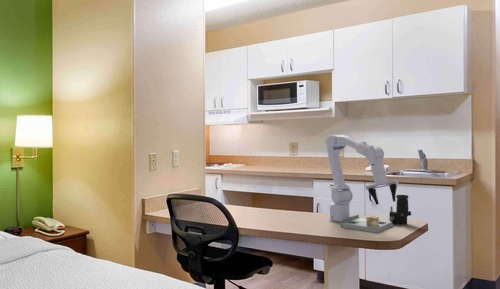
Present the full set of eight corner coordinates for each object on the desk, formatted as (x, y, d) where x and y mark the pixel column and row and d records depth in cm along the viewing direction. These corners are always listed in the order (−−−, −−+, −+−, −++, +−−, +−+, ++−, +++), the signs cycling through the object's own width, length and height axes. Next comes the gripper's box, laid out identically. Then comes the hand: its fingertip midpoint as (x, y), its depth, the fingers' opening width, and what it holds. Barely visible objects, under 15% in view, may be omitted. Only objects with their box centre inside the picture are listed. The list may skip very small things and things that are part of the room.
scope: (389, 193, 205) (410, 194, 201) (389, 221, 205) (411, 222, 202) (388, 196, 197) (411, 197, 194) (389, 225, 198) (411, 226, 194)
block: (366, 225, 189) (366, 217, 189) (370, 224, 192) (370, 215, 192) (374, 226, 186) (374, 218, 186) (378, 225, 189) (378, 216, 189)
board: (341, 227, 196) (341, 219, 196) (357, 221, 208) (357, 214, 207) (376, 232, 184) (376, 224, 183) (392, 226, 195) (392, 218, 195)
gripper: (361, 176, 189) (367, 205, 186) (393, 169, 182) (400, 200, 179) (365, 176, 195) (371, 205, 192) (396, 170, 188) (403, 199, 185)
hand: (385, 202), depth 186 cm, fingers open, 7 cm apart
